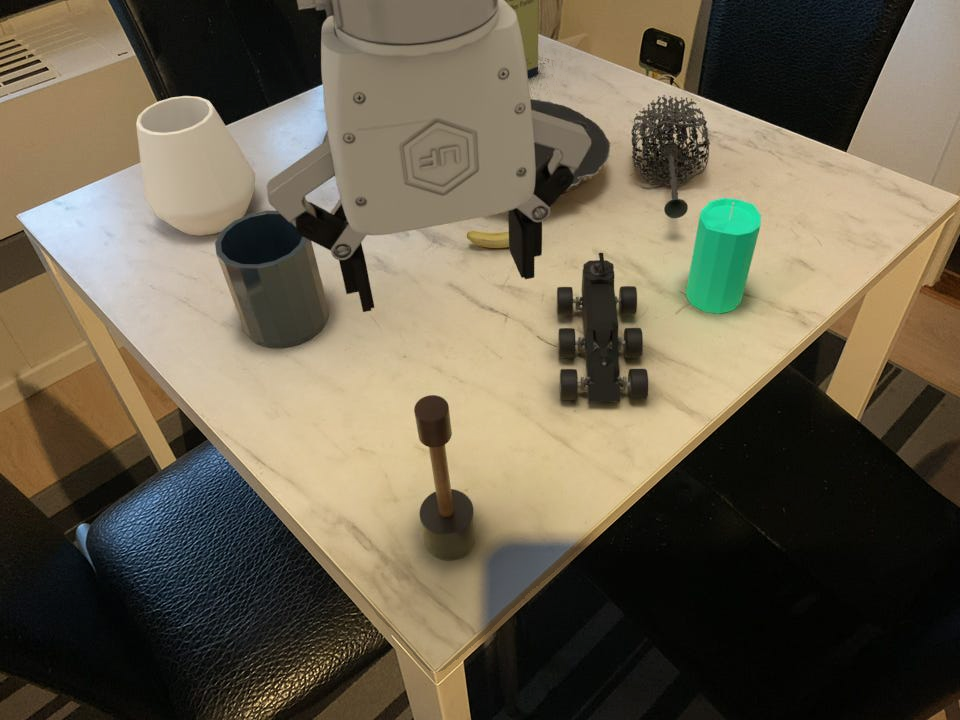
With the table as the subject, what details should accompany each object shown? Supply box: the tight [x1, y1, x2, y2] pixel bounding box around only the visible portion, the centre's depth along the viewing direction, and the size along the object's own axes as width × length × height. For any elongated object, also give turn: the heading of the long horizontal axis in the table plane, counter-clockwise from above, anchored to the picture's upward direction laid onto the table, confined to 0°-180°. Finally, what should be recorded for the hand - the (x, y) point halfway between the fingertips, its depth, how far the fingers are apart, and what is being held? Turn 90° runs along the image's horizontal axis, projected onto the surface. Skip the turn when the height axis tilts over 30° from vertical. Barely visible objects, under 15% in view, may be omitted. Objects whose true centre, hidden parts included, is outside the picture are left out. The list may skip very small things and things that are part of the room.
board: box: [530, 98, 611, 196], centre depth 102 cm, size 22×22×5 cm
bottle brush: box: [413, 394, 477, 561], centre depth 61 cm, size 4×4×17 cm
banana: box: [466, 230, 509, 249], centre depth 93 cm, size 8×2×4 cm, turn 94°
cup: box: [135, 95, 256, 237], centre depth 96 cm, size 13×13×14 cm
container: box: [214, 210, 330, 349], centre depth 83 cm, size 9×9×11 cm
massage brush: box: [630, 94, 711, 219], centre depth 97 cm, size 9×22×9 cm, turn 174°
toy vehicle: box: [556, 252, 649, 403], centre depth 78 cm, size 8×15×9 cm, turn 178°
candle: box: [685, 197, 762, 315], centre depth 82 cm, size 6×6×12 cm
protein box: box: [504, 0, 540, 80], centre depth 117 cm, size 10×16×16 cm
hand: (444, 280), depth 48 cm, fingers open, 9 cm apart
